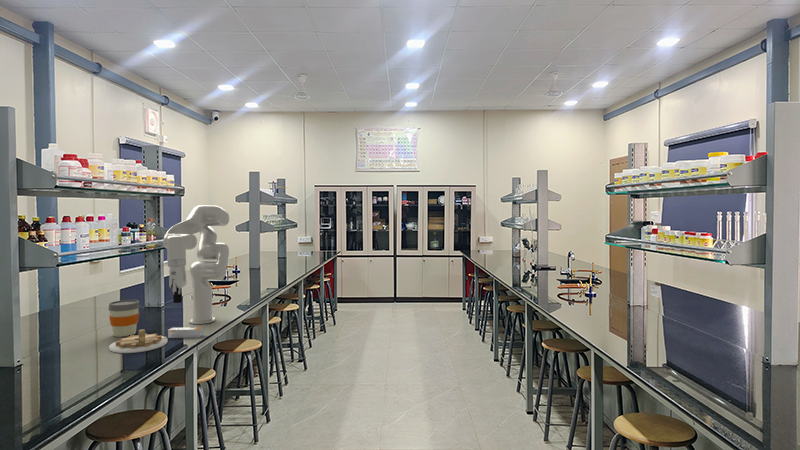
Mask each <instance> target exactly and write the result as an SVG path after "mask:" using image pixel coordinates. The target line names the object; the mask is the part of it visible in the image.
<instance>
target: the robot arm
mask: <svg viewBox="0 0 800 450" xmlns="http://www.w3.org/2000/svg"><path fill="white" fill-rule="evenodd" d="M229 222H230V214H229V213H228V211H227V210H225V209H224V208H222V207H220V206H218V205H204V204H203V205H197V206H195V207H194V208H193V209H192V210H191V212H190V213H189V215H188V217H187V218H186V219H185V220H183V221H181V222H179V223H176V224H174V225H172V226H170V227H169V229H168V230H167V232H166V234H164V237H163V240H162V244H163V246H164V248H165V249H167V251H166V253H167V254H166V255H167V256H166V257H167V267H168V268H169V271H168V272H169V275H168V276H169V277H168V282H169V283H168V285H169V288H170V289H172V293H173V298H172V299H173V300H172V303H173V304H181V303H182V302H183V295H182V294H183V288H184V287H185V286H187V273H186V266H187V257H186V256H187V255H186V254H187V253H186V252H187V251H188V250H189V251H190V250H192V249H195V248H196V247H197V248H196V249H197V250H196V257H197V258H198V260H199V261H195V262H193V263H191V264H190V267H189V273H190V274H189V275H190V279H191V288H192V289H191V290H192V293H191V296H192V297H191V300H192V301H191V303H192V307H191V308H192V318H190V319H189V320H188V321H189V323H190V324H193V325H204V324H205V325H206V324H209V323H210V324H211V323H214V322H215V321H216V317H214V316H213V312H214V311H213V287H212V284H211V283H210V282H209V280H211V281H212V280H223V279H224V278H225V277H226V273H227V270H228V269H227V268H228V263H229V257H230V256H229V255H230V249H229V246H228V244H227V243H225V242H217V238H218V235H217V233H216V232H215V230H214V229H213V228H212V227H225V226H227V225H228V224H229ZM198 233H199V241H198V239H197V237H196V235H194V234H198ZM197 245H198V246H197Z"/></svg>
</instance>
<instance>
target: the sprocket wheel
mask: <svg viewBox="0 0 800 450" xmlns="http://www.w3.org/2000/svg"><path fill="white" fill-rule="evenodd" d="M162 336H163V335H158V333H151V334H148V333H147V332H146V329H139V330H138V334H137V335H135V334H133V335H130V336H125V337H121V338H118V340H115V342H116V346H119V348H125V347H131V348H136V347H140V346H145V347H146V346H150V344H153V343H159V342H160V340H162Z"/></svg>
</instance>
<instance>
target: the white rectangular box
mask: <svg viewBox="0 0 800 450" xmlns="http://www.w3.org/2000/svg"><path fill="white" fill-rule="evenodd" d="M203 329H204V328H203V326H198V327H171V328H170V329H167V339H197V338H198V339H199V338H201V337H202V336H203V335H204V334H203V333H204V332H203V331H204V330H203Z"/></svg>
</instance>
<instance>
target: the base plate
mask: <svg viewBox="0 0 800 450" xmlns="http://www.w3.org/2000/svg"><path fill="white" fill-rule="evenodd" d="M161 336H162V340H160V342H159V343H153V344H150V346H146V347H145V346H140V347H136V348H131V347H125V348H119V346H116V341H114V342H112V343H111V344H109V345H108V350H109V352H111V351H112V353H115V352H116V354H133V353H134V354H135V353H142V352H147V351H148V352H149V351H152V350H156V349H159V348H162V347H164V346H165V345H167V344H168V339H169V338H168V336H163V335H161Z"/></svg>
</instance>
